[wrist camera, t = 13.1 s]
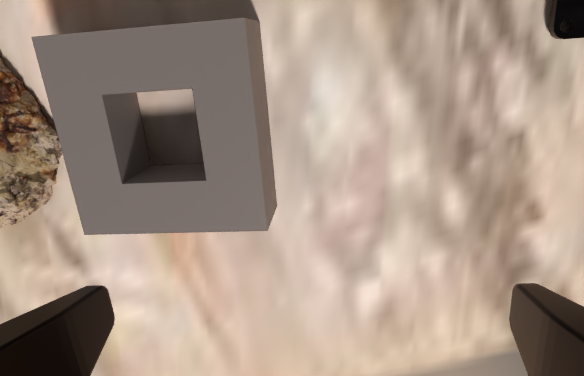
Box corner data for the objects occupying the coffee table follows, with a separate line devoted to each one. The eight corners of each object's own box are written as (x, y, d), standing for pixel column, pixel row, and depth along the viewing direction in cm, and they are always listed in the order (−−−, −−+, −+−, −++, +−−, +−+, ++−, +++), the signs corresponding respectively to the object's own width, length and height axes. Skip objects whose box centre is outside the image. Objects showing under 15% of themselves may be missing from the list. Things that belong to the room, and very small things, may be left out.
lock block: (259, 21, 18) (244, 17, 16) (276, 205, 21) (267, 230, 19) (75, 37, 20) (31, 37, 17) (116, 210, 23) (84, 234, 20)
